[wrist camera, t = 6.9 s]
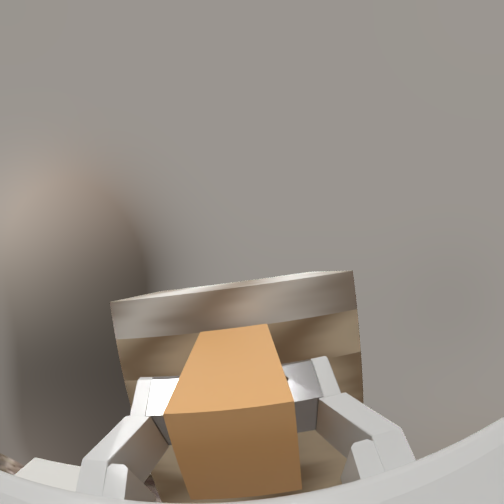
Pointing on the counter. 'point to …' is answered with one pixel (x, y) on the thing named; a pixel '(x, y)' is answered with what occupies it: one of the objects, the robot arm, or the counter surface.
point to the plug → (234, 418)
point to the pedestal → (51, 474)
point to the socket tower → (241, 315)
